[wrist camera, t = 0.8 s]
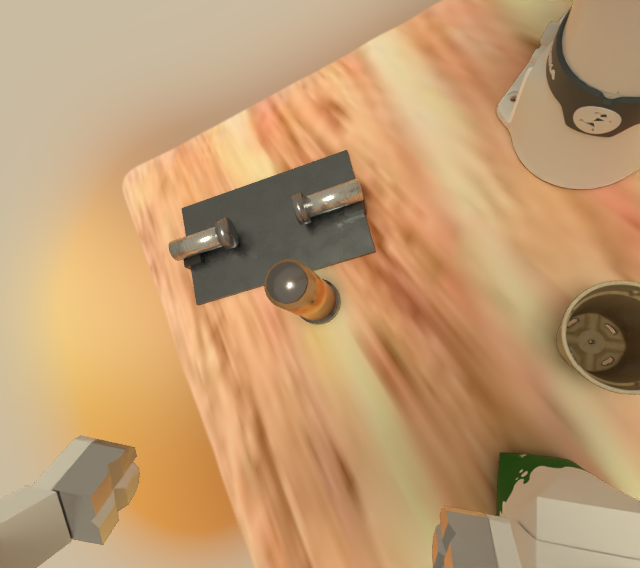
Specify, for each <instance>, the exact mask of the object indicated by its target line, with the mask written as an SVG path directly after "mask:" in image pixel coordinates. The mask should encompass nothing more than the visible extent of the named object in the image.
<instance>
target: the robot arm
mask: <svg viewBox="0 0 640 568" xmlns="http://www.w3.org/2000/svg"><path fill="white" fill-rule="evenodd" d="M540 43H541V46H540V48H539V49H538V48H537V49H536V50H535V51H534V53H533V55H532V57H531V59H530V61H529V63H528V64H527V65H526V67H525V68H524V69H523V71H522V72H521V74H520V75H519V76H518V78H517V79H516V80H515V82H514V83H513V84H512V86H511V87H510V88H509V90H508V91H507V93H506V94H505V95H504V97H503V98H502V99H501V101H500V102H499V104H498V106H497V109H496V114H497V116H498V118H499V119H500V121H501V122H502V123H503V124H504V125H505V126H506V128H507V129H508V130H509V132H510V135H511V138H512V142H513V146H514V149H515V152H516V154H517V156H518V157H519V159H520V161H521V162H522V163H523V165H524V166H525V167H526V168H527V169H528V170H529V171H530V172H532V173H533V174H534V175H536V176H537V177H539V178H540V179H542V180H544V181H546V182H548V183H551V184H553V185H556V186H560V187H564V188H570V189H593V188H599V187H604V186H607V185H610V184H613V183H616V182H618V181H620V180H622V179H624V178H626V177H627V176H629V175H631V174H632V173H634V172H636V171H637V170H639V169H640V0H574V2H573V5H572V7H571V9H570V10H568V11H567V12H566V13H565V14H564V15H563V17H562V18H561V19H560V21H559V22H555V21H553V22H552V21H551V22H550V23H549V24H548V26H547V28H546V29H545V31H544V33H543V35H542V37H541V40H540ZM512 99H515V100H516V101H515V102H512V101H511V100H512ZM136 457H137V455H136V450H135V447H131V446H127V445H122V444H118V443H112V442H108V441H104V440H99V439H95V438H90V437H85V436H79V437H77V438H76V439H74V440H73V441H72V442H71V443H70V444H69V445H68V447H66V449H65V450H64V451H63V452H62V453H61V454H60V455H59V456H58V457H57V459H56V460H55V461H54V462H53V463H52V464H51V465H50V466H49V468H48V469H47V470H46V471H45V472H44V473H43V474H42V475H41V477H40V478H39V479H38V480H37V481H36V482H35V483H34V484H33V485H32V486H28V485H26V486H24V487H22V488H20V489H18V490H16V491H15V492H13V493H11V494H9V495H7V496H5V497H3V498H1V499H0V568H37V567H38V566H40V565H41V564H42V563H43V562H45V561H46V560H47V559H49V558H50V557H51V556H52V555H54V554H55V553H56V552H58V551H59V550H61V549H62V548H63V547H65V546H66V545H67V544H69V543H70V542H71V539H74V540H79V541H84V542H90V543H96V544H100V545H104V543H105V541H106V540H107V538H108V537H109V535H110V533H111V532H112V530H113V529H114V527H115V526H116V524H117V522H118V521H119V518H118V517H119V516H118V511H119V510H121V509H122V508H124V507H126V506H127V505H129V503H130V502H131V500H132V498H133V497H134V495H135V492H136V490H137V487H138V484H139V478H140V472H139V467H138V466H137V465H136V464H135V463H134V462H133V461H134V460H135V458H136ZM432 559H433V568H522V566H521V562H520V559H519V555H518V551H517V547H516V543H515V539H514V535H513V531H512V528H511V524H510V522H509V520H508V519H507V518H505V517H500V516H495V515H489V514H484V513H482V512H476V511H471V510H465V509H459V508H454V507H448V506H444V507H443V508H442V510H441V513H440V525H438V526H436V529H435V533H434V537H433V546H432Z"/></svg>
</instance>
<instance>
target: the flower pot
mask: <svg viewBox="0 0 640 568" xmlns="http://www.w3.org/2000/svg"><path fill="white" fill-rule="evenodd" d="M572 319H578V322H576V323H575V324H573V325H572V326H571V327H567V325H568V322H569V321H571V320H572ZM606 323H607V324H608V325H610V326H611V327H612V328H613V329H614V330H615V331H616V334H612V333H611V331H610V330H609V329H608V328H607V327H606V326H605V324H606ZM590 340H593V341H594V343H593V344H590V343H589V341H590ZM557 347H558V350H559V352H560V354H561V356H562V357H563V359H564V360H565V361H566V362H567V363H568V364H569V365H571V366H572V367H574V368H575V369H576V370H577V371H578V372H579V373H580V374H581V375H582V376H584V377H585V378H586V379H587V380H589V381H590V382H592V383H593V384H595V385H597V386H599V387H601V388H604V389H606V390H609V391H612V392H616V393H621V394H633V395H635V394H640V283H636V282H630V281H610V282H605V283H601V284H598V285H595V286H593V287H591V288H589V289H587V290H585V291H584V292H582V293H581V294H580V295H578V296H577V297H576V298H575V299H574V300H573V301H572V303H571V304H570V305H569V307H568V309H567V310H566V312H565V314H564V317H563V320H562V324H561V326H560V327H559V330H558V333H557ZM572 354H573V356H572ZM573 357H574V358H575V359H574V358H573ZM609 357H612V358H613V362H612V363H610V364H607V365H605V366H603V365H602V362H603V361H605V360H606V359H608V358H609Z"/></svg>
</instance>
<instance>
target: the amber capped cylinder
mask: <svg viewBox="0 0 640 568" xmlns="http://www.w3.org/2000/svg"><path fill="white" fill-rule="evenodd" d="M265 292H266V295H267V297H268V298H269V300H270V301H271V302H272V303H273V304H275V305H276V306H278V307H281V308H283V309H285V310H288V311H290V312H292V313H295V314H297V315H299V316H300V317H301V318H302V319H304V320H305V321H307V322H309V323H312V324H324V323H327V322H329V321H330V320H332V319H333V318H334V317H335V316H336V314H337V313H338V311H339V308H340V295H339V292H338V291H337V289H336V288H335V287H334V286H333V285H332V284H331V283H330V282H328V281H326V280H323V279H321V278H320V277H319V276H318V275H316V274H315V273H314V272H313V271H312V270H310V269H309V268H308V267H307V266H306V265H304V264H303V263H302V262H300V261H298V260H294V259H286V260H282V261H280V262H278V263H276V264H275V265H274V266H272V268H271V269H270V270H269V272H268V273H267V275H266V278H265Z"/></svg>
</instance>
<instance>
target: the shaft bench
mask: <svg viewBox="0 0 640 568" xmlns="http://www.w3.org/2000/svg"><path fill="white" fill-rule="evenodd" d="M363 200H364V196H363V193H362V189H361V186H360V183H359V180H358V178H357V179H355V177H354V173H353V170H352V166H351V162H350V159H349V155H348V152H347V150H345V151H342V152H340V153H337V154H334V155H331V156H328V157H325V158H323V159H320V160H317V161H314V162H311V163H308V164H306V165H303V166H300V167H297V168H294V169H292V170H289V171H286V172H283V173H280V174H277V175H275V176H272V177H269V178H266V179H263V180H260V181H258V182H255V183H252V184H249V185H246V186H244V187H241V188H238V189H235V190H232V191H229V192H227V193H224V194H221V195H218V196H215V197H212V198H210V199H207V200H204V201H201V202H198V203H195V204H193V205H190V206H187V207H184V208H182V213H183V220H184V226H185V233H186V237H183V238H180V239H177V240H174V241H171V242H170V243H169V251H170V253H171V255H172V257H173V258H174V259H175V260H177V261H179V260H182V259H184V265H185V267H186V268H188V269H190V270H191V272H192V278H193V284H194V291H195V297H196V304H197V305H201V304H204V303H208V302H211V301H214V300H218V299H221V298H224V297H228V296H231V295H234V294H238V293H241V292H244V291H248V290H251V289H254V288H258V287H261V286H264V285H265V278H266V275H267V273H268V272H269V270H270V269H271V268H272V266H274V265H275V264H276V263H278V262H280V261H282V260H286V259H294V260H298V261H300V262H302V263H303V264H304V265H306V266H307V267H308V268H309V269H310V270H312V271H314V270H318V269H321V268H324V267H328V266H331V265H334V264H338V263H341V262H344V261H347V260H351V259H354V258H357V257H361V256H364V255H367V254H371V253H374V252H375V249H374V245H373V242H372V238H371V234H370V231H369V227H368V224H367V220H366V216H365V215H366V210H365V207H364V203H363Z"/></svg>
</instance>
